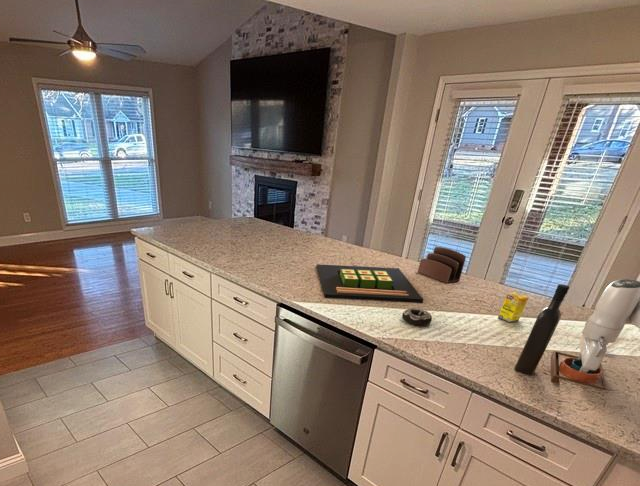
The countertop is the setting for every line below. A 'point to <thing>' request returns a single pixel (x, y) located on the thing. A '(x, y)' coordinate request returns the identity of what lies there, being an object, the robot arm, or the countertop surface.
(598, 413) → the countertop surface
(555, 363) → the tray
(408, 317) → the donut
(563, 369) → the big bowl
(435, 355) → the countertop surface
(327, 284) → the sushi set
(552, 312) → the wine bottle
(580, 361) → the small bowl
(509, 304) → the supplement box
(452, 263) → the letter holder
